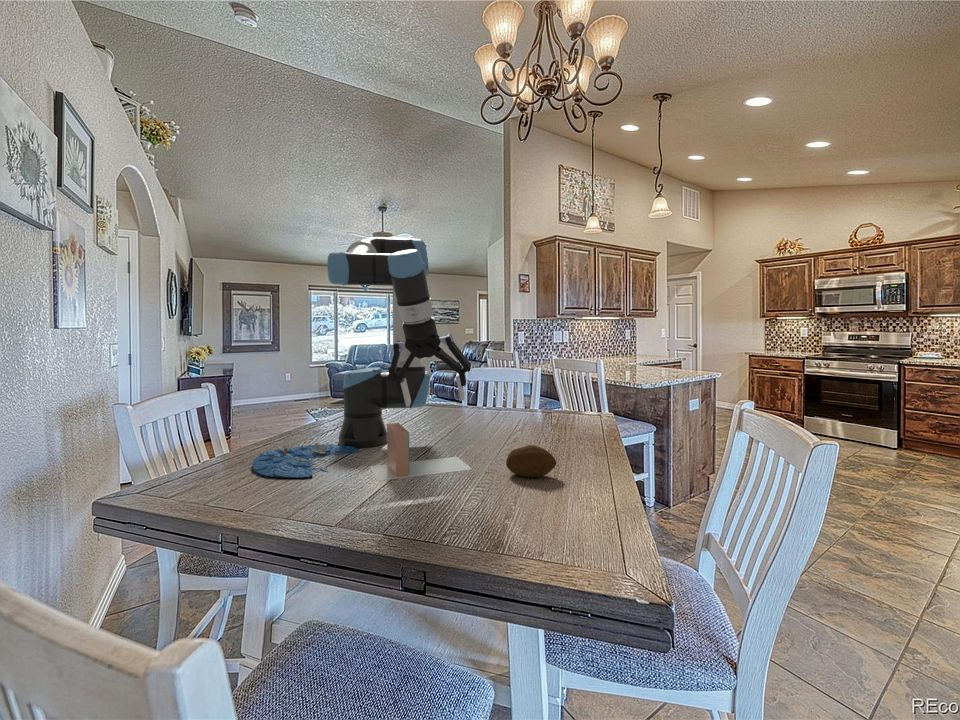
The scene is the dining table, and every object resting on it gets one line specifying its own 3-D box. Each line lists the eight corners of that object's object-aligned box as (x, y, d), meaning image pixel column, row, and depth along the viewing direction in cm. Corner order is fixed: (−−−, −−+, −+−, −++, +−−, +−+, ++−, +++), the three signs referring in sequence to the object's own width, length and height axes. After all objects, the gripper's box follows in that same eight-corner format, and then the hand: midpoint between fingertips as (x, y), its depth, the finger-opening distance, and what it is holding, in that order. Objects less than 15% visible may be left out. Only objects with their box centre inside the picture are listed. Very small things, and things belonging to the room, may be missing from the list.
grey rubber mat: (369, 469, 122) (369, 466, 122) (456, 459, 131) (456, 456, 131) (377, 484, 111) (377, 480, 111) (472, 472, 120) (472, 469, 120)
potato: (505, 470, 122) (505, 440, 121) (553, 471, 122) (554, 441, 121) (506, 480, 114) (506, 449, 113) (557, 481, 114) (558, 450, 113)
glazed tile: (387, 465, 123) (387, 423, 122) (400, 464, 124) (400, 422, 123) (395, 477, 114) (395, 432, 113) (409, 475, 115) (409, 431, 114)
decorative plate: (382, 453, 142) (382, 436, 142) (343, 487, 113) (344, 465, 112) (288, 446, 145) (289, 430, 145) (227, 477, 116) (227, 456, 115)
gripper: (360, 331, 106) (383, 414, 114) (469, 316, 103) (484, 402, 111) (370, 321, 113) (390, 399, 121) (472, 307, 110) (486, 388, 118)
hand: (435, 401), depth 116 cm, fingers open, 13 cm apart
